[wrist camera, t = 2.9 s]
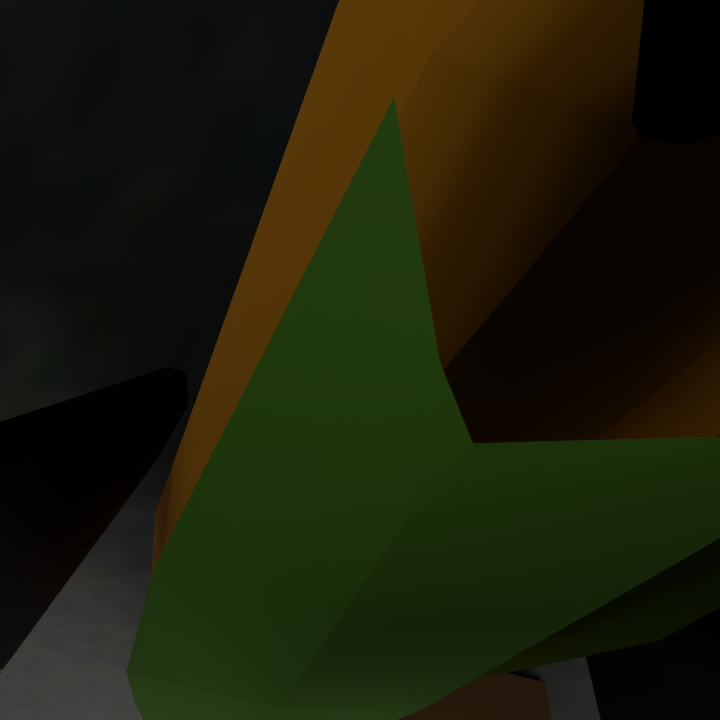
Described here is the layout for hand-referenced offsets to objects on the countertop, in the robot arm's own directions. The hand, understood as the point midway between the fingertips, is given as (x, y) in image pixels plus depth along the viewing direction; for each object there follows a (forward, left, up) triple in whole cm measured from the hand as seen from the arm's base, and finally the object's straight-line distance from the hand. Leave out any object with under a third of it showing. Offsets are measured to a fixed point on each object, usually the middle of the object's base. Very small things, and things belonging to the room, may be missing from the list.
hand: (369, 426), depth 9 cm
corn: (0, 0, -2) cm, 2 cm away
